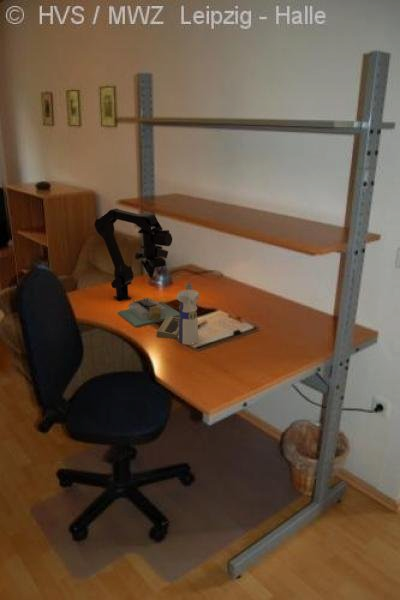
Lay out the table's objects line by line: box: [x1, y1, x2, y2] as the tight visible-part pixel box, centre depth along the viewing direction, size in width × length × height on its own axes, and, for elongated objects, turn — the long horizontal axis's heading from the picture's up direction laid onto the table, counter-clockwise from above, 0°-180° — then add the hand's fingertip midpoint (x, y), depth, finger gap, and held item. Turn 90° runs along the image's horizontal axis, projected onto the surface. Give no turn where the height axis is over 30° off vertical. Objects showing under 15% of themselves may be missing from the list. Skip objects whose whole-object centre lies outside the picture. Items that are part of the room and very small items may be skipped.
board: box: [117, 301, 180, 329], centre depth 204 cm, size 18×22×1 cm
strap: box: [137, 298, 157, 307], centre depth 202 cm, size 12×3×1 cm, turn 33°
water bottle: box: [176, 281, 200, 346], centre depth 176 cm, size 8×9×25 cm
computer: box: [156, 316, 179, 339], centre depth 190 cm, size 16×8×3 cm, turn 170°
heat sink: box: [128, 297, 166, 321], centre depth 202 cm, size 15×11×6 cm
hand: (150, 277), depth 212 cm, fingers closed
